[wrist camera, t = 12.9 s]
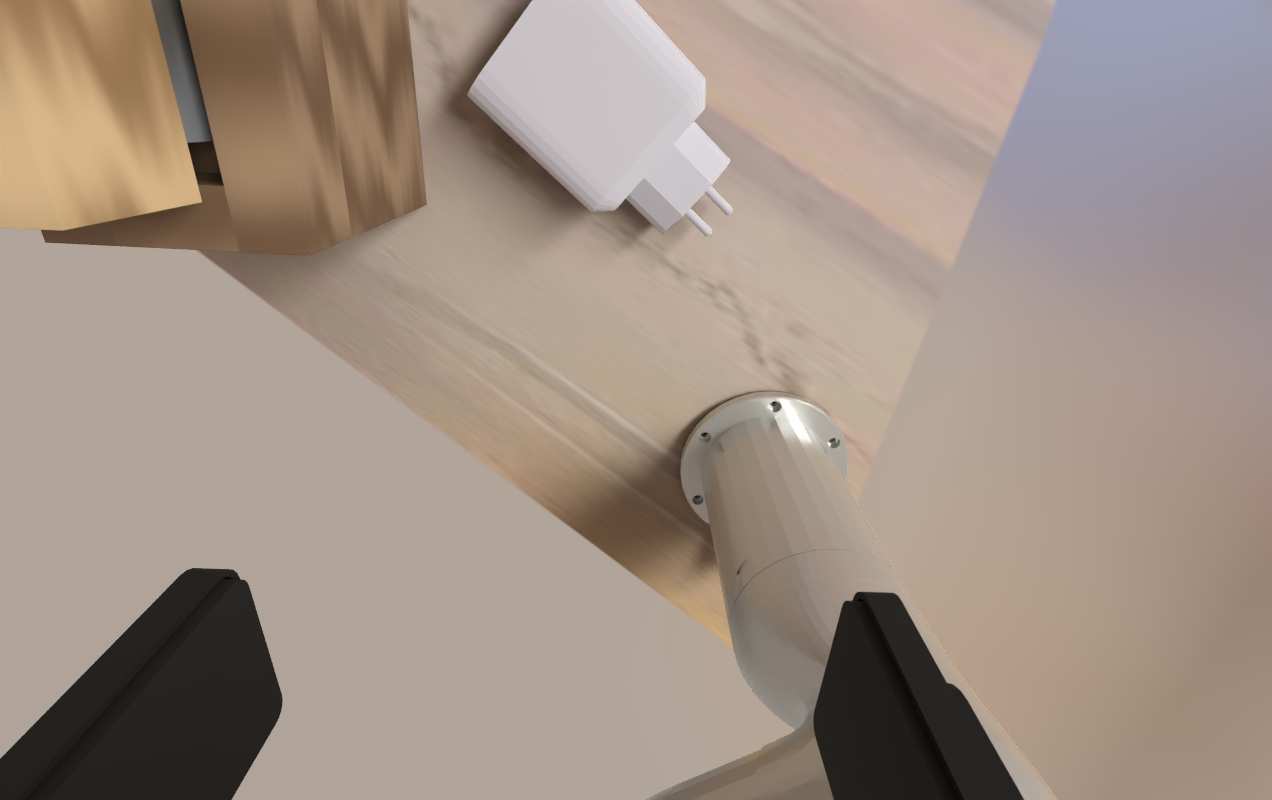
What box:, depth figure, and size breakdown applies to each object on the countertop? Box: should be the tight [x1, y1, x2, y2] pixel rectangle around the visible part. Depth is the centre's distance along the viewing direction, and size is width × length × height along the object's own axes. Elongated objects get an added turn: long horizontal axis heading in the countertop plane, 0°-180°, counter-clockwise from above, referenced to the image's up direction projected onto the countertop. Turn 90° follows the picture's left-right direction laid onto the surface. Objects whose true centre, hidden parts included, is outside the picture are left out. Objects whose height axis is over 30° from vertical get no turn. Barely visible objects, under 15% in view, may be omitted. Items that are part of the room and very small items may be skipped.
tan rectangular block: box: [0, 0, 213, 231], centre depth 19 cm, size 11×4×11 cm, turn 177°
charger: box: [467, 0, 733, 236], centre depth 34 cm, size 5×9×15 cm
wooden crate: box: [41, 0, 426, 255], centre depth 28 cm, size 14×10×15 cm
